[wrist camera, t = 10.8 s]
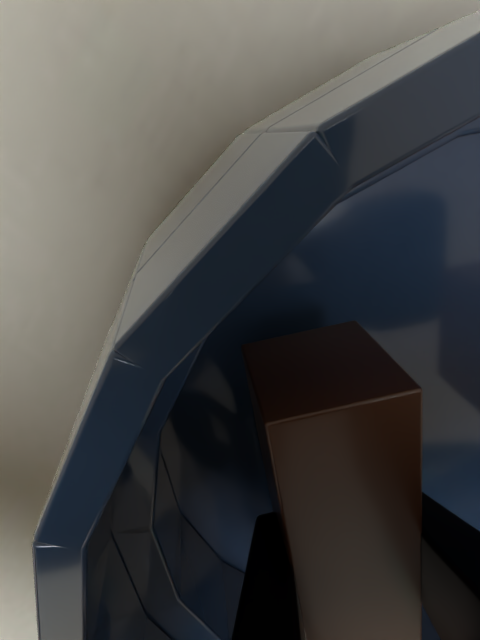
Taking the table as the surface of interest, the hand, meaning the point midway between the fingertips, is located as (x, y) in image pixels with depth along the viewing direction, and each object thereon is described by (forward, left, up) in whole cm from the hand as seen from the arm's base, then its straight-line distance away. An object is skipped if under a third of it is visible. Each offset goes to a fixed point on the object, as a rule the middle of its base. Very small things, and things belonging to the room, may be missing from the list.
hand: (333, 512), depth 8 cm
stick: (0, 0, -1) cm, 1 cm away
